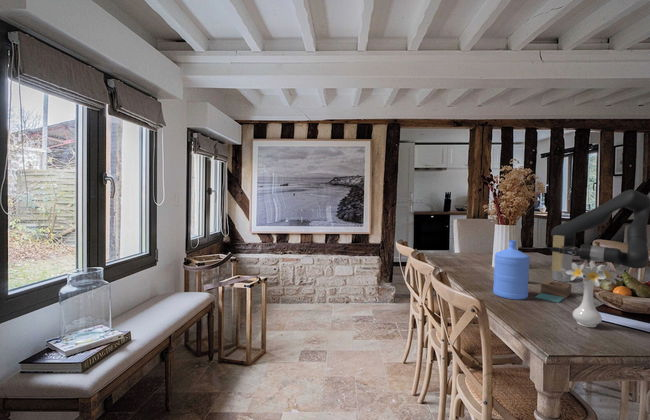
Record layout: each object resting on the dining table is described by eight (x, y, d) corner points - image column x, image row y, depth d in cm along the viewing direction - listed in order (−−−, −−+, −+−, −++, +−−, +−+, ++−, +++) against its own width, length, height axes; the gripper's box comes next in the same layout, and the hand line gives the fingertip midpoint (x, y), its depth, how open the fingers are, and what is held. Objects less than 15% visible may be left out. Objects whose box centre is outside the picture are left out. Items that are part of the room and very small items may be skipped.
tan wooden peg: (553, 269, 182) (555, 235, 181) (562, 270, 179) (564, 235, 178) (551, 270, 179) (553, 235, 178) (560, 271, 176) (562, 236, 175)
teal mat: (541, 294, 178) (541, 292, 178) (564, 298, 171) (564, 297, 171) (535, 297, 171) (535, 296, 171) (558, 302, 164) (559, 301, 164)
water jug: (533, 301, 166) (535, 243, 164) (497, 298, 169) (500, 242, 168) (521, 292, 181) (523, 239, 180) (489, 289, 184) (491, 238, 183)
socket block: (546, 289, 187) (547, 280, 187) (570, 293, 179) (571, 284, 179) (540, 293, 180) (541, 283, 179) (565, 298, 172) (566, 288, 171)
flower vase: (554, 315, 147) (557, 257, 145) (608, 323, 139) (612, 261, 138) (560, 326, 135) (563, 263, 133) (620, 335, 127) (624, 268, 126)
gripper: (595, 244, 173) (555, 240, 185) (590, 247, 163) (548, 242, 175) (594, 258, 173) (554, 254, 186) (589, 262, 163) (547, 257, 176)
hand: (551, 248), depth 180 cm, fingers closed on tan wooden peg, 4 cm apart
